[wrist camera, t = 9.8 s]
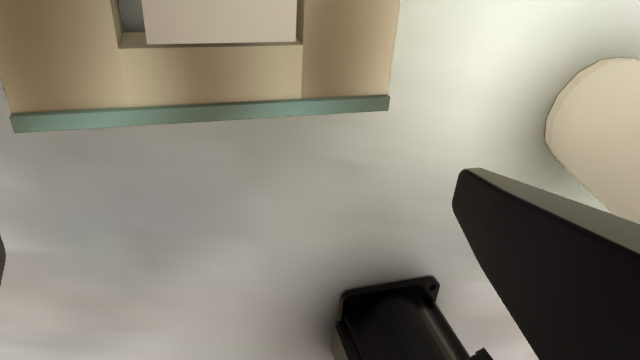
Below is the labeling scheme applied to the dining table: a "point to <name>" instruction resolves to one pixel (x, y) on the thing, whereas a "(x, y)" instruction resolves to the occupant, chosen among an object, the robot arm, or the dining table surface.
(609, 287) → the robot arm
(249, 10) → the grey and beige block
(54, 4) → the well
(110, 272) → the dining table surface
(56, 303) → the dining table surface
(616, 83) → the foam cup
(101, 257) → the dining table surface
